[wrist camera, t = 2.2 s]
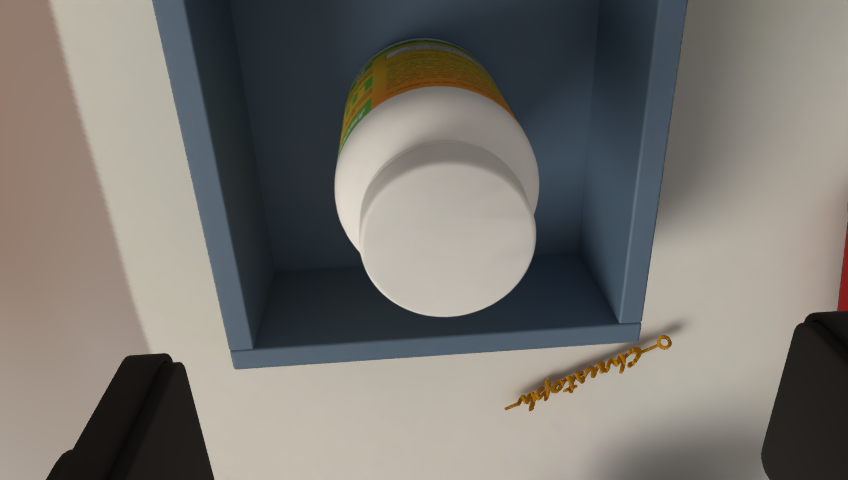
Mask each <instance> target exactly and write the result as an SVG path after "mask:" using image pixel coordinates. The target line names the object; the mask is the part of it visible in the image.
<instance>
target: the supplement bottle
mask: <svg viewBox="0 0 848 480" xmlns="http://www.w3.org/2000/svg"><path fill="white" fill-rule="evenodd" d="M538 195H539V174H538V166H537V162H536V158H535V155H534V153H533V150H532V147H531V145H530V142H529V140H528V138H527V136H526V134H525V132H524V131H523V129H522V127H521V125H520V123H519V122H518V121H517V119H516V118H515V116H514V114H513V113H512V111H511V110H510V108H509V106H508V105H507V103H506V101H505V100H504V98H503V97H502V95H501V93H500V91H499V90H498V88H497V86H496V84H495V83H494V81H493V79H492V78H491V76H490V75H489V73H488V72H487V70H486V69H485V68H484V66H483V65H482V64H481V63H480V62H479V61H478V60H477V59H476V58H475V57H474V56H473V55H472V54H470V53H469V52H467V51H466V50H464V49H463V48H461V47H459V46H457V45H454V44H452V43H449V42H446V41H443V40H438V39H431V38H416V39H409V40H405V41H401V42H398V43H396V44H393V45H391V46H388V47H386V48H385V49H383V50H381V51H380V52H378V53H377V54H375V55H374V56H373V57H372V58H371V59H369V60H368V62H367V63H366V64H365V65H364V66H363V67H362V68H361V70H360V71H359V72H358V74H357V76H356V77H355V79H354V81H353V83H352V85H351V88H350V90H349V93H348V97H347V101H346V106H345V112H344V119H343V126H342V133H341V140H340V147H339V153H338V160H337V165H336V172H335V201H336V207H337V212H338V216H339V219H340V222H341V224H342V226H343V228H344V230H345V232H346V234H347V236H348V238H349V239H350V241H351V242H352V243H353V245H354V246H355V247H356V249H357V250H358V251H359V252H360V254H361V258H362V262H363V264H364V267H365V270H366V272H367V274H368V276H369V277H370V279H371V281H372V282H373V283H374V285H375V286H376V287H377V288H378V290H379V291H380V292H381V293H382V294H383V295H385V296H386V297H387V298H388V299H390V300H391V301H392V302H394V303H395V304H397V305H399V306H401V307H403V308H405V309H407V310H410V311H412V312H415V313H418V314H423V315H427V316H436V317H453V316H460V315H465V314H469V313H473V312H476V311H479V310H481V309H483V308H486V307H488V306H490V305H492V304H494V303H496V302H497V301H499V300H500V299H501V298H503V297H504V296H505V295H507V294H508V293H509V292H510V291H511V290H512V289H513V288H514V287H515V286H516V285H517V284H518V283H519V281H520V280H521V279H522V277H523V276H524V274H525V272H526V271H527V269H528V267H529V264H530V262H531V260H532V257H533V254H534V249H535V244H536V224H535V219H534V213H535V210H536V206H537V201H538Z"/></svg>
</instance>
